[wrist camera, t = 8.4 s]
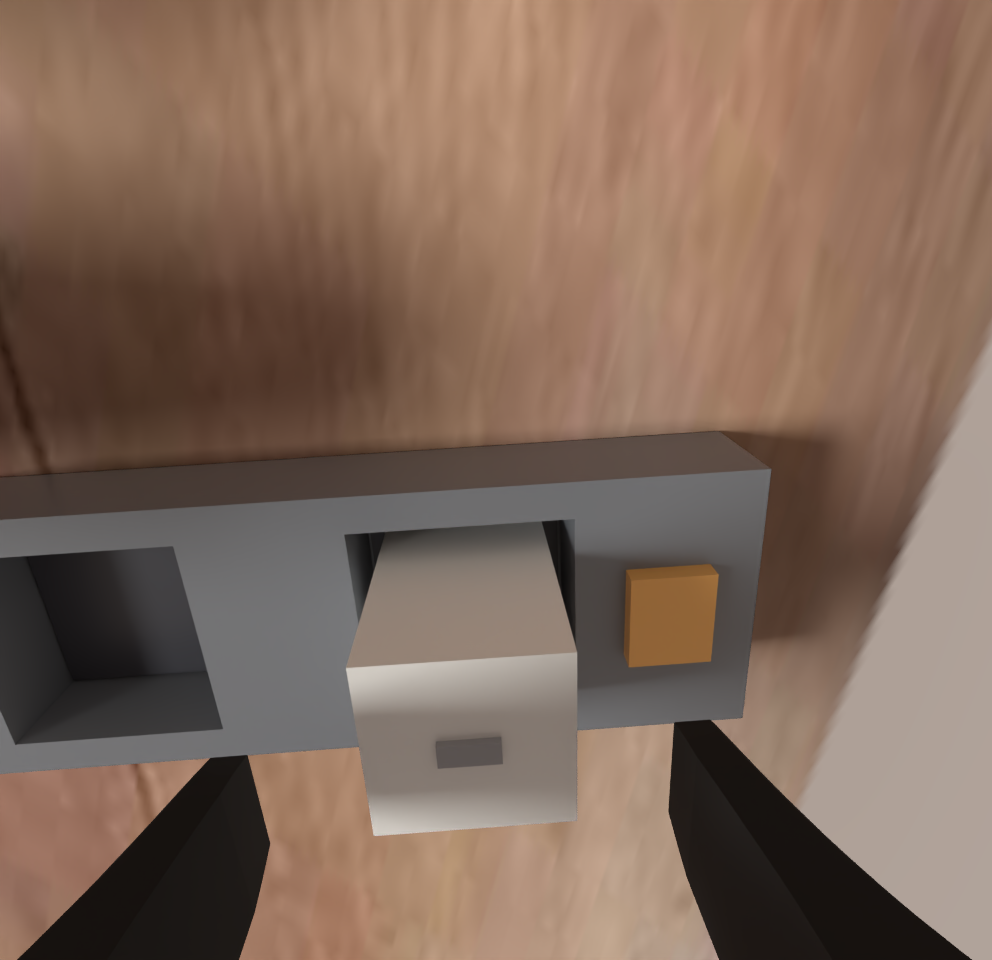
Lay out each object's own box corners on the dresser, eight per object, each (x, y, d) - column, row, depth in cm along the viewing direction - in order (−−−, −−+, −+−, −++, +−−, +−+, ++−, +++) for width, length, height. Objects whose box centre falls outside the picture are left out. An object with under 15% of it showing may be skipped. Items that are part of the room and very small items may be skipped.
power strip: (47, 695, 18) (-44, 792, 15) (-39, 480, 16) (-170, 540, 13) (701, 647, 19) (750, 732, 15) (718, 431, 16) (782, 476, 13)
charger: (403, 647, 17) (372, 843, 12) (388, 521, 16) (344, 673, 10) (542, 638, 18) (578, 827, 12) (539, 511, 16) (578, 657, 10)
